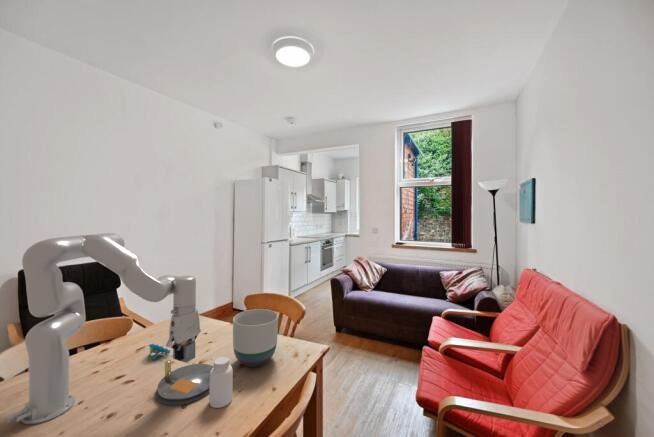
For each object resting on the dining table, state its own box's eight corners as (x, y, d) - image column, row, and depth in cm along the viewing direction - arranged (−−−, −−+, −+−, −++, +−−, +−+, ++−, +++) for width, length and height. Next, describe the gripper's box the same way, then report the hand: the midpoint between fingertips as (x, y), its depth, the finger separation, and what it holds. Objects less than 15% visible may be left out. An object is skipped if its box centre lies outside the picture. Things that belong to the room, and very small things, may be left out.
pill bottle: (225, 390, 102) (225, 352, 102) (236, 400, 97) (237, 360, 97) (205, 401, 96) (205, 361, 96) (216, 412, 91) (216, 369, 90)
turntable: (224, 385, 103) (224, 362, 103) (162, 409, 89) (162, 383, 89) (208, 361, 119) (208, 342, 119) (153, 380, 105) (154, 357, 105)
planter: (285, 356, 127) (286, 313, 127) (258, 380, 109) (259, 329, 108) (252, 347, 136) (253, 306, 135) (222, 367, 117) (223, 320, 117)
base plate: (183, 413, 90) (183, 410, 90) (142, 395, 98) (142, 392, 98) (230, 377, 110) (230, 375, 110) (192, 365, 119) (192, 363, 119)
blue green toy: (175, 351, 127) (160, 343, 121) (168, 364, 123) (151, 356, 117) (160, 349, 131) (145, 341, 125) (153, 362, 127) (136, 354, 121)
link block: (173, 358, 99) (173, 342, 99) (182, 353, 103) (182, 338, 103) (186, 362, 96) (186, 346, 96) (195, 357, 100) (195, 341, 100)
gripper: (170, 318, 90) (170, 370, 90) (209, 303, 106) (209, 348, 106) (156, 314, 93) (156, 365, 93) (196, 301, 109) (195, 344, 109)
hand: (184, 355), depth 100 cm, fingers closed on link block, 4 cm apart
